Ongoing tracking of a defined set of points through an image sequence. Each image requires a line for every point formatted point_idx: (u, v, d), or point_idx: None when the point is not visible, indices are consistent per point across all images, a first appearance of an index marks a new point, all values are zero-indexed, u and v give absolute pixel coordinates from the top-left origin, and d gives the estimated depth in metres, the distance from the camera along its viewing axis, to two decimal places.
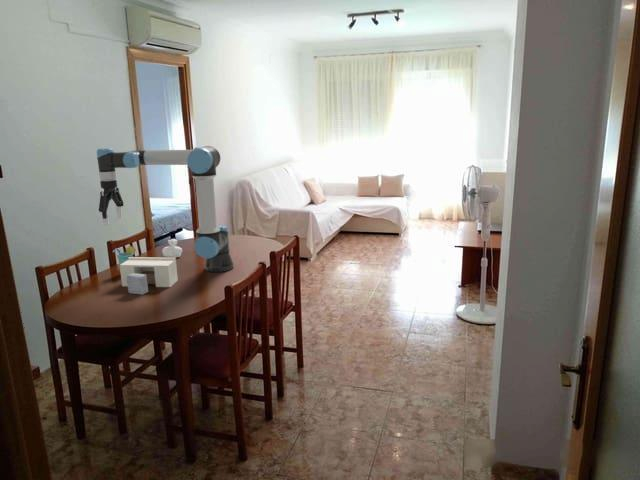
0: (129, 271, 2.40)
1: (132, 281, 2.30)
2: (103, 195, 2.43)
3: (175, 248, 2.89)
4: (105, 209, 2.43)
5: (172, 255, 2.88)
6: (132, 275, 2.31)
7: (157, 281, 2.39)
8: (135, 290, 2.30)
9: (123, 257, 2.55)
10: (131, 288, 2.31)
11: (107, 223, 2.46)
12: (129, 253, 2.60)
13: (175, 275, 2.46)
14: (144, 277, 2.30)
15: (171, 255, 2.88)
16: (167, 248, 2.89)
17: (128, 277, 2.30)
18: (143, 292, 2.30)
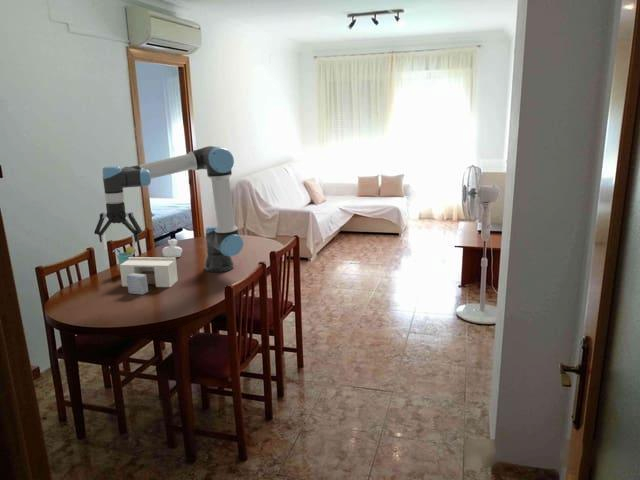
0: (129, 271, 2.40)
1: (132, 281, 2.30)
2: None
3: (175, 248, 2.89)
4: (99, 232, 2.21)
5: (172, 255, 2.88)
6: (132, 275, 2.31)
7: (157, 281, 2.39)
8: (135, 290, 2.30)
9: (123, 257, 2.55)
10: (131, 288, 2.31)
11: None
12: (129, 253, 2.60)
13: (175, 275, 2.46)
14: (144, 277, 2.30)
15: (171, 255, 2.88)
16: (167, 248, 2.89)
17: (128, 277, 2.30)
18: (143, 292, 2.30)
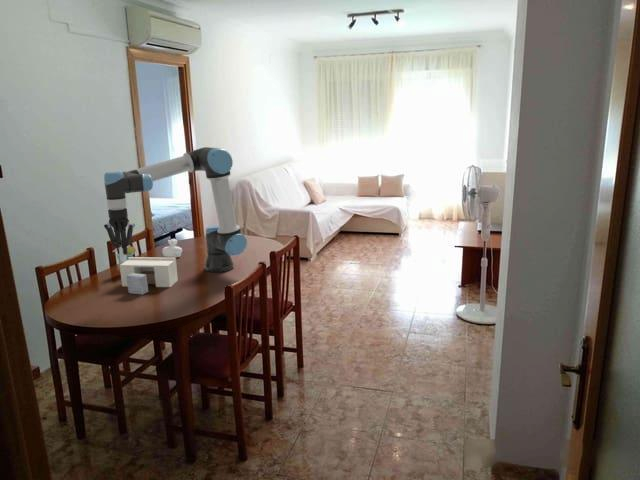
0: (129, 271, 2.40)
1: (132, 281, 2.30)
2: None
3: (175, 248, 2.89)
4: (116, 245, 2.16)
5: (172, 255, 2.88)
6: (132, 275, 2.31)
7: (157, 281, 2.39)
8: (135, 290, 2.30)
9: None
10: (131, 288, 2.31)
11: None
12: (129, 253, 2.60)
13: (175, 275, 2.46)
14: (144, 277, 2.30)
15: (171, 255, 2.88)
16: (167, 248, 2.89)
17: (128, 277, 2.30)
18: (143, 292, 2.30)
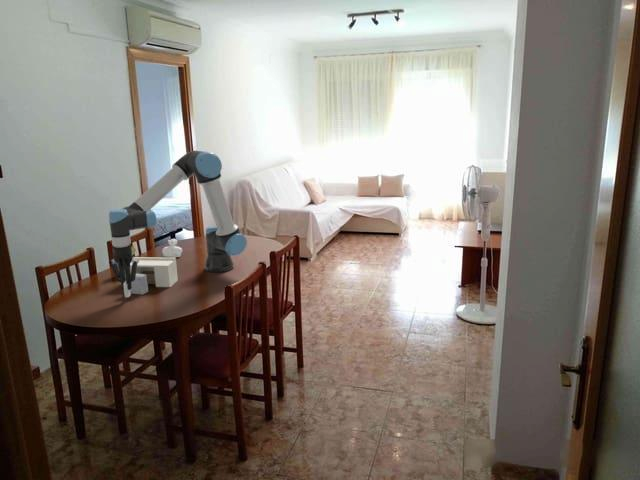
0: None
1: None
2: None
3: (175, 248, 2.89)
4: (120, 280, 2.20)
5: (172, 255, 2.88)
6: None
7: (157, 281, 2.39)
8: (135, 290, 2.30)
9: None
10: None
11: None
12: None
13: (175, 275, 2.46)
14: (144, 277, 2.30)
15: (171, 255, 2.88)
16: (167, 248, 2.89)
17: None
18: (143, 292, 2.30)
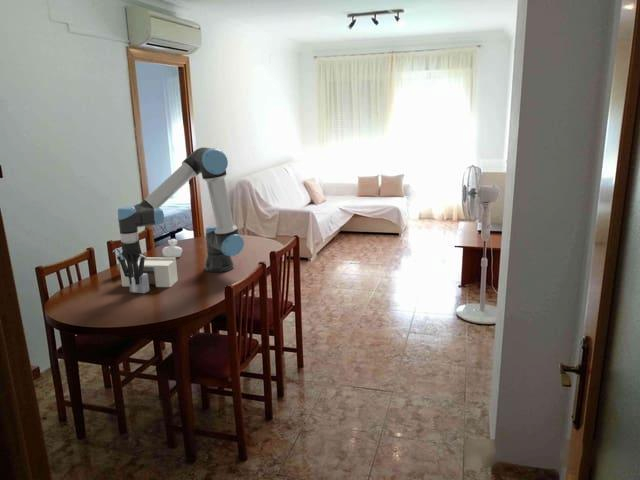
0: None
1: None
2: None
3: (175, 248, 2.89)
4: (128, 276, 2.27)
5: (172, 255, 2.88)
6: None
7: (157, 281, 2.39)
8: None
9: None
10: None
11: None
12: None
13: (175, 275, 2.46)
14: (145, 276, 2.32)
15: (171, 255, 2.88)
16: (167, 248, 2.89)
17: None
18: (144, 291, 2.31)
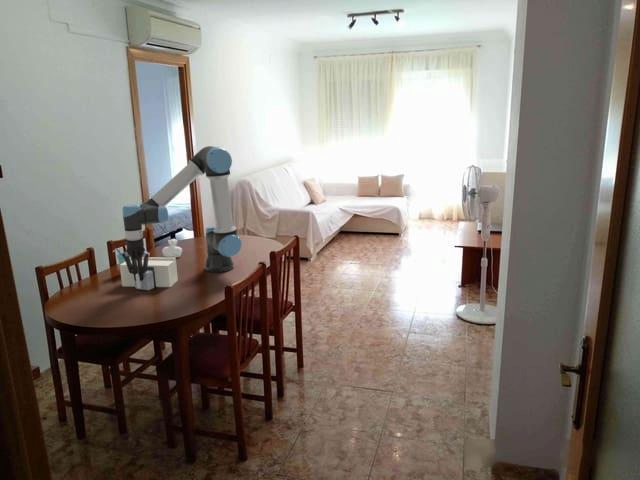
0: None
1: None
2: None
3: (175, 248, 2.89)
4: (133, 272, 2.32)
5: (172, 255, 2.88)
6: None
7: (157, 281, 2.39)
8: None
9: (123, 257, 2.55)
10: None
11: None
12: None
13: (175, 275, 2.46)
14: (150, 273, 2.36)
15: (171, 255, 2.88)
16: (167, 248, 2.89)
17: None
18: (149, 288, 2.36)
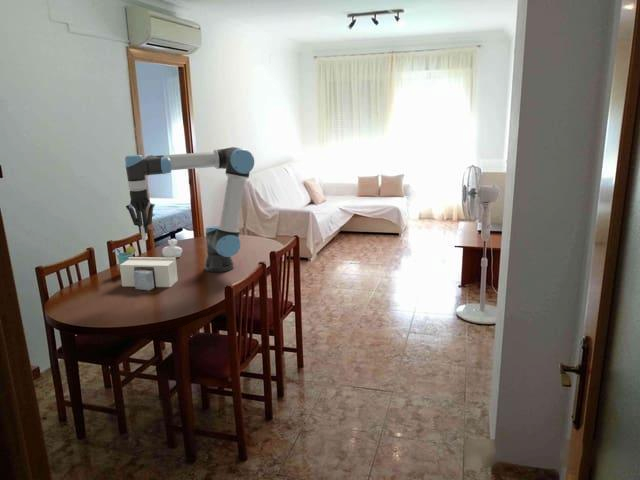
0: (129, 271, 2.40)
1: (139, 277, 2.35)
2: None
3: (175, 248, 2.89)
4: (137, 224, 2.30)
5: (172, 255, 2.88)
6: (139, 271, 2.36)
7: (157, 281, 2.39)
8: (141, 285, 2.36)
9: (123, 257, 2.55)
10: (137, 283, 2.36)
11: None
12: (129, 253, 2.60)
13: (175, 275, 2.46)
14: (150, 273, 2.36)
15: (171, 255, 2.88)
16: (167, 248, 2.89)
17: (135, 273, 2.36)
18: (149, 288, 2.36)
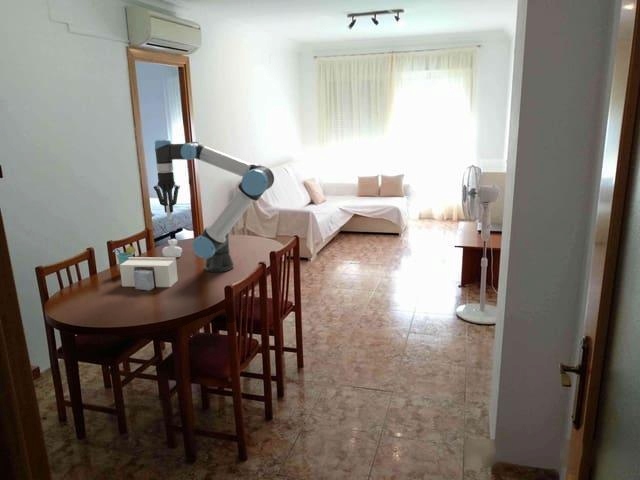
0: (129, 271, 2.40)
1: (139, 277, 2.35)
2: None
3: (175, 248, 2.89)
4: (163, 204, 2.48)
5: (172, 255, 2.88)
6: (139, 271, 2.36)
7: (157, 281, 2.39)
8: (141, 285, 2.36)
9: (123, 257, 2.55)
10: (137, 283, 2.36)
11: None
12: (129, 253, 2.60)
13: (175, 275, 2.46)
14: (150, 273, 2.36)
15: (171, 255, 2.88)
16: (167, 248, 2.89)
17: (135, 273, 2.36)
18: (149, 288, 2.36)
